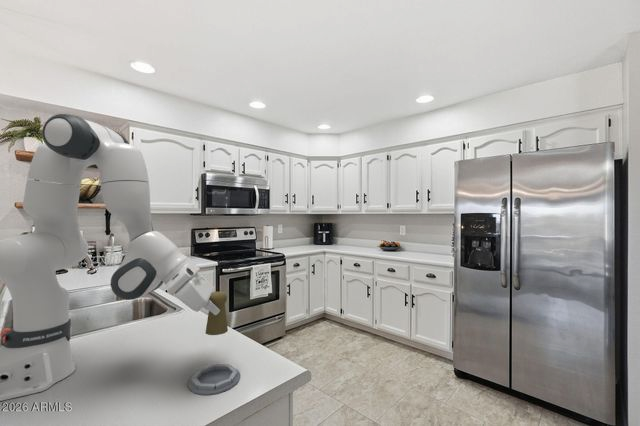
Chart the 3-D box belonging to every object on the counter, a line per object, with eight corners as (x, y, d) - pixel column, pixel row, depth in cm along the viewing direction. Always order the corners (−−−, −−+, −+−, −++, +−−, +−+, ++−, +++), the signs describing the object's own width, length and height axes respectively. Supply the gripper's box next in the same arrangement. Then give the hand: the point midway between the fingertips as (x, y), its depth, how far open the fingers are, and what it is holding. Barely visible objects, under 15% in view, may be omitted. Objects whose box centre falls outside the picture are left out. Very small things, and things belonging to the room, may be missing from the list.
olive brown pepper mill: (221, 335, 80) (221, 294, 81) (200, 334, 82) (201, 293, 82) (231, 328, 86) (232, 290, 87) (212, 327, 87) (213, 289, 88)
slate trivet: (199, 402, 70) (199, 395, 70) (181, 379, 79) (181, 373, 79) (248, 381, 79) (248, 375, 79) (226, 363, 88) (226, 357, 88)
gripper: (182, 278, 92) (214, 309, 94) (164, 292, 72) (205, 330, 74) (198, 264, 93) (229, 294, 95) (184, 273, 73) (225, 311, 75)
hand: (219, 310), depth 84 cm, fingers closed on olive brown pepper mill, 4 cm apart
